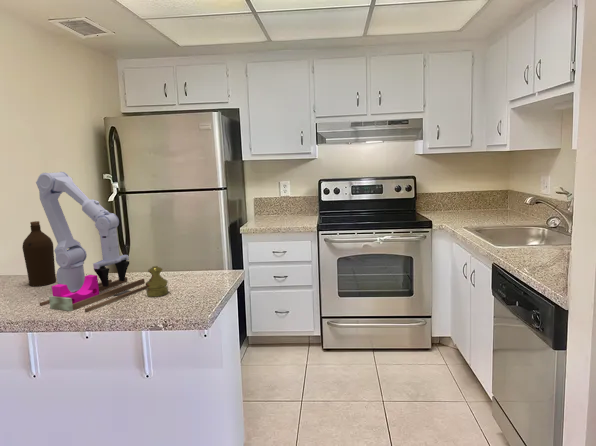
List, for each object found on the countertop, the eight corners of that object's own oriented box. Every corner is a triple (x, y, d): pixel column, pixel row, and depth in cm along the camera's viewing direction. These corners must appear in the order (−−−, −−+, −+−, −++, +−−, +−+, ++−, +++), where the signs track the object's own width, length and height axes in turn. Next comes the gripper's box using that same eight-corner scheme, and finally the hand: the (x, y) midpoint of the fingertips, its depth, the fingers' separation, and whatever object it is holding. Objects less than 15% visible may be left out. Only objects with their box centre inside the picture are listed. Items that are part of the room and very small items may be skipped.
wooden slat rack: (37, 306, 151) (36, 294, 150) (114, 280, 180) (113, 270, 180) (84, 312, 142) (83, 300, 141) (157, 284, 171) (156, 274, 171)
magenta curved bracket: (67, 310, 146) (64, 287, 145) (54, 308, 149) (51, 286, 148) (104, 296, 160) (102, 275, 159) (91, 295, 162) (89, 274, 161)
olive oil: (58, 283, 180) (50, 221, 176) (27, 288, 175) (18, 224, 171) (57, 278, 189) (49, 219, 185) (28, 282, 184) (19, 221, 180)
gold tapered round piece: (168, 290, 163) (165, 262, 162) (168, 295, 156) (166, 267, 155) (146, 292, 161) (144, 265, 160) (146, 298, 154) (143, 269, 153)
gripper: (101, 251, 156) (106, 289, 158) (133, 243, 169) (136, 279, 171) (87, 251, 159) (91, 288, 161) (119, 243, 172) (123, 277, 174)
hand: (114, 283), depth 166 cm, fingers open, 7 cm apart
